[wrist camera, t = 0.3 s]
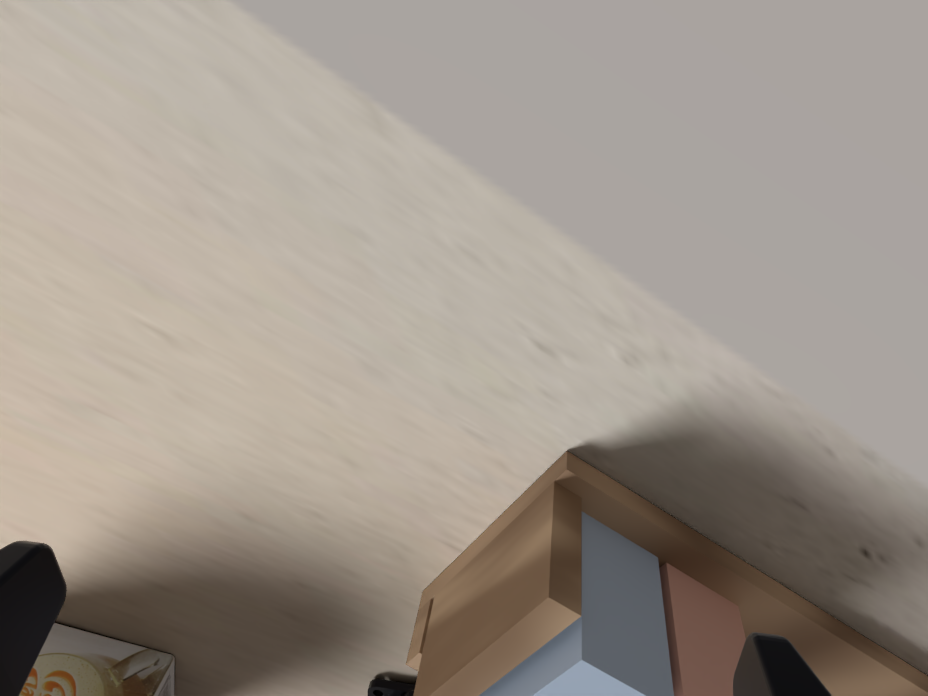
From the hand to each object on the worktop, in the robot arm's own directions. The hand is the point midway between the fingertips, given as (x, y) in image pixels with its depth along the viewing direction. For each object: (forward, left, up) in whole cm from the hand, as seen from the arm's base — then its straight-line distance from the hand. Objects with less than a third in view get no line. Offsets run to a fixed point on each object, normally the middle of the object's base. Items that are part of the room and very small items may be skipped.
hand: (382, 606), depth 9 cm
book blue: (-14, -4, -13) cm, 20 cm away
